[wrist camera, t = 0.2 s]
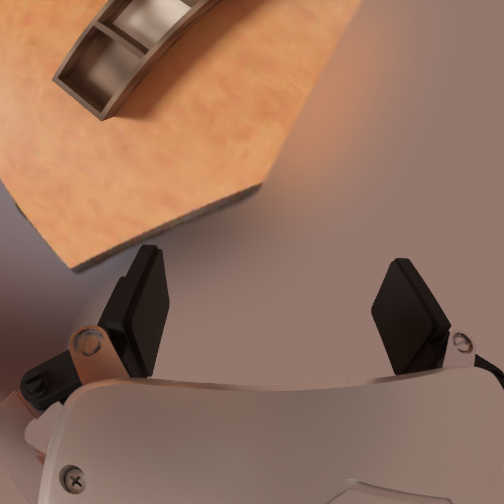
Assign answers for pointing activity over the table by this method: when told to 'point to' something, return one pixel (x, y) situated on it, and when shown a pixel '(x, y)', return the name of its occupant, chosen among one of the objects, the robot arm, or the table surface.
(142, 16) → the walnut rack
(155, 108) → the table surface
